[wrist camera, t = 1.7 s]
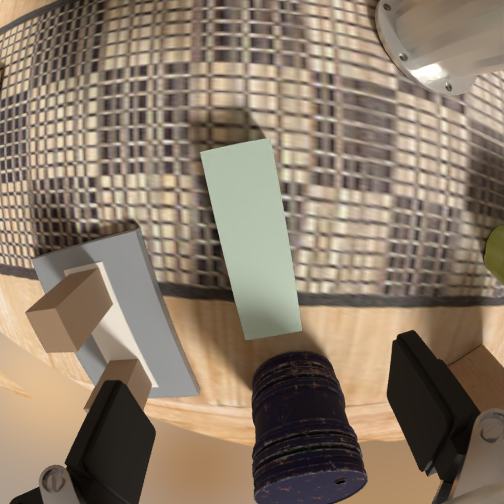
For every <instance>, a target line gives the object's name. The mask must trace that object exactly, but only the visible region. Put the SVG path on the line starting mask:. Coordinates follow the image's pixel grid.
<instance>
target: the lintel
mask: <svg viewBox="0 0 504 504" xmlns="http://www.w3.org/2000/svg"><path fill="white" fill-rule="evenodd" d="M200 154H201V159H202V163H203V168H204V172H205V177H206V181H207V186H208V190H209V195H210V199H211V204H212V208H213V212H214V217H215V221H216V225H217V229H218V234H219V238H220V242H221V246H222V250H223V254H224V259H225V263H226V267H227V271H228V275H229V279H230V283H231V287H232V291H233V295H234V299H235V303H236V307H237V310H238V314H239V318H240V322H241V326H242V330H243V333H244V337H245V341H247V340H254V339H260V338H266V337H272V336H277V335H283V334H288V333H294V332H299V331H302V327H301V319H300V312H299V305H298V298H297V291H296V284H295V278H294V271H293V264H292V258H291V252H290V245H289V239H288V233H287V227H286V221H285V215H284V210H283V204H282V198H281V193H280V187H279V182H278V176H277V171H276V165H275V160H274V155H273V150H272V145H271V140H270V138H265V139H260V140H254V141H249V142H244V143H239V144H234V145H229V146H224V147H220V148H215V149H211V150H207V151H202V152H200Z"/></svg>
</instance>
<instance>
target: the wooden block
mask: <svg viewBox="0 0 504 504" xmlns="http://www.w3.org/2000/svg"><path fill="white" fill-rule="evenodd" d="M448 368H449V369H450V371H451V372H452V373H453V375H454V376H455V377H456V379H457V380H458V381H459V383H460V384H461V385H462V387H463V388H464V389H465V391H466V392H467V394H468V395H469V396H470V398H471V399H472V401H473V402H474V404H475V405H476V406H477V408H478V409H479V411H480V412H481V413H482V412H484V411H486V410H489V409H495V408H497V409H501V410H504V368H503V366H502V365H501V364H500V363H499V362H498V361H497V360H496V358H495V357H494V356H493V355H492V354H491V353H490V352H489V351H488V350H487V349H486V347H485V346H484V345H481V346H479V347H478V348H476V349H475V350H473V351H472V352H470V353H469V354H467V355H466V356H464V357H463V358H461V359H459V360H458V361H456V362H455V363H453V364H451V365H450V366H448Z"/></svg>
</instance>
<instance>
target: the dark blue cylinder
mask: <svg viewBox="0 0 504 504" xmlns="http://www.w3.org/2000/svg"><path fill="white" fill-rule="evenodd" d="M252 384H253V394H252V418H253V423H254V425H255V433H256V443H255V445H254V448H253V454H252V458H253V464H252V467H253V469H252V471H253V473H252V474H253V478H254V487H255V489H254V500H255V502H256V503H257V504H334V503H337V502H339V501H342V500H344V499H347V498H349V497H351V496H353V495H354V494H356V493H357V492H359V491H360V490H361V489H363V487H364V486H365V485H366V484H367V482H368V477H367V474H366V471H365V469H364V463H363V460H362V452H361V449H360V446H359V444H358V442H357V435H356V433H355V432H354V430H353V428H352V427H351V426H350V425H349V423H348V419H347V416H346V413H345V398H344V395H343V393H342V390H341V387H340V384H339V381H338V379H337V378H336V375H335V372H334V369H333V366H332V365H331V363H330V362H329V361H328V360H327V359H326V358H325V357H323V356H321V355H319V354H317V353H313V352H308V351H291V352H286V353H282V354H279V355H277V356H274V357H272V358H270V359H269V360H267V361H266V362H264V363H263V364H262V365H261V366H260V367H259V368H258V369H257V371H256V373H255V374H254V377H253V383H252Z"/></svg>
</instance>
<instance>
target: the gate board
mask: <svg viewBox="0 0 504 504" xmlns="http://www.w3.org/2000/svg"><path fill="white" fill-rule="evenodd" d="M32 262H33V265H34V268H35V270H36V273H37V275H38V278H39V280H40V283H41V285H42V288H43V290H44V292H45V295H44V296H43V297H42V298H41V299H40V300H38V301H37V302H36V303H35V304H34V305H33V306H32V307H31V308H30V309H28V310H27V311H26V312H25V313H26V315H27V317H28V319H29V321H30V323H31V325H32V327H33V329H34V331H35V333H36V335H37V337H38V339H39V340H40V342H41V344H42V346H43V348H44V349H45V351H46V353H50V352H74V353H75V355H76V356H77V358H78V360H79V361H80V363H81V365H82V366H83V368H84V370H85V371H86V373H87V375H88V376H89V378H90V379H91V381H92V383H93V384H94V386H95V388H94V390H93V392H92V394H91V396H90V397H89V399H88V401H87V403H86V405H85V407H84V410H85V411H86V412H87V414H88V412H89V410H90V408H91V406H92V404H93V402H94V400H95V398H96V396H97V394H98V392H99V390H100V388H101V386H102V385H103V383H104V381H106V380H121V381H122V382H123V383H124V384H126V385H127V386H128V388H129V390H130V391H131V393H132V395H133V396H134V398H135V399H136V401H137V402H138V404H139V406H140V407H141V409H142V410H144V407H145V404H146V401H147V398H172V397H190V396H199V394H200V387H199V385H198V382H197V380H196V378H195V376H194V374H193V371H192V369H191V367H190V364H189V362H188V360H187V357H186V355H185V353H184V350H183V348H182V345H181V343H180V341H179V338H178V336H177V333H176V331H175V328H174V325H173V323H172V320H171V318H170V315H169V312H168V310H167V307H166V304H165V302H164V299H163V296H162V293H161V291H160V288H159V285H158V282H157V279H156V276H155V273H154V270H153V267H152V264H151V261H150V258H149V255H148V252H147V249H146V246H145V242H144V239H143V236H142V232H141V229H140V228H136V229H132V230H128V231H124V232H120V233H116V234H113V235H109V236H105V237H101V238H98V239H94V240H90V241H87V242H83V243H80V244H76V245H73V246H69V247H66V248H62V249H59V250H56V251H52V252H49V253H46V254H42V255H39V256H37V257H35V258H34V259H32Z"/></svg>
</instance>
